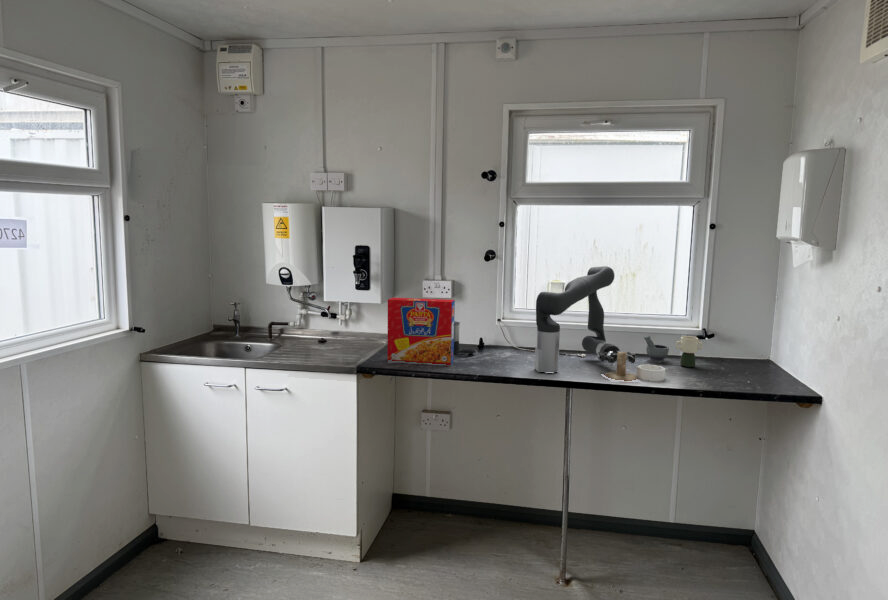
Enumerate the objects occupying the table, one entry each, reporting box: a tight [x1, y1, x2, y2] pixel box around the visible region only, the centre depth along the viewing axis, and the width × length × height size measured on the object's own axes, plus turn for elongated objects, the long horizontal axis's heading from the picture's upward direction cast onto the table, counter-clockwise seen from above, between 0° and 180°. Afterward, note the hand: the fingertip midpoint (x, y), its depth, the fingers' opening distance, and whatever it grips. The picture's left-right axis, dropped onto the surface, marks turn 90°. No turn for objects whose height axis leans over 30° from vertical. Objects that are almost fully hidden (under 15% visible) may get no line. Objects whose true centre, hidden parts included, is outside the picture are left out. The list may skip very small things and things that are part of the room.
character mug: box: [675, 335, 703, 368], centre depth 247 cm, size 11×7×13 cm, turn 80°
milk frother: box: [454, 320, 476, 355], centre depth 265 cm, size 14×16×15 cm
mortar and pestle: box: [643, 334, 670, 364], centre depth 256 cm, size 11×9×12 cm
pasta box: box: [387, 297, 456, 366], centre depth 246 cm, size 28×8×28 cm, turn 80°
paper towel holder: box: [605, 351, 638, 381], centre depth 225 cm, size 12×12×10 cm
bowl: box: [636, 364, 666, 382], centre depth 226 cm, size 10×10×4 cm
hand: (623, 360), depth 224 cm, fingers open, 8 cm apart
